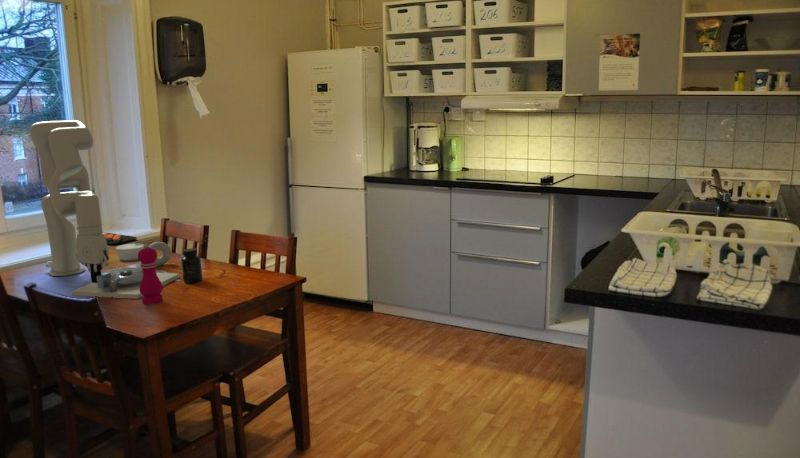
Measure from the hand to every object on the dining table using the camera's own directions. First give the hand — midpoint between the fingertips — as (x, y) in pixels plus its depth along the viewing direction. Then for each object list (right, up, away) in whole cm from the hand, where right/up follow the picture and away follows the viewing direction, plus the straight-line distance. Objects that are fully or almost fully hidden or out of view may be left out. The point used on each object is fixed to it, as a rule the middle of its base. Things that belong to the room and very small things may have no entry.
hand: (96, 281), depth 229 cm
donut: (+8, +3, +38) cm, 39 cm away
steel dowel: (+6, -3, -1) cm, 7 cm away
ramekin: (-9, +6, +52) cm, 53 cm away
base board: (+7, -2, +10) cm, 12 cm away
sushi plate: (-39, +11, +82) cm, 92 cm away
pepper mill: (+23, -6, -9) cm, 25 cm away
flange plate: (+6, 0, +8) cm, 10 cm away
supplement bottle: (+29, -1, +14) cm, 32 cm away
